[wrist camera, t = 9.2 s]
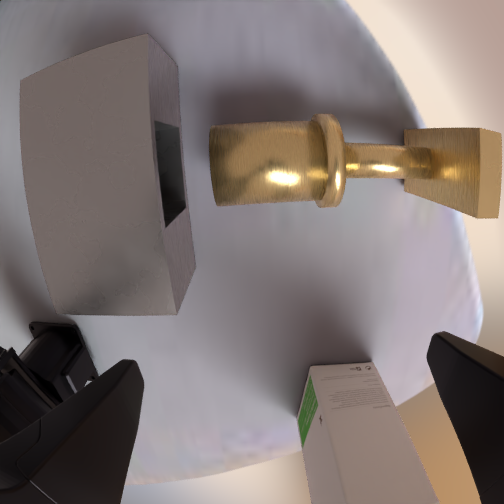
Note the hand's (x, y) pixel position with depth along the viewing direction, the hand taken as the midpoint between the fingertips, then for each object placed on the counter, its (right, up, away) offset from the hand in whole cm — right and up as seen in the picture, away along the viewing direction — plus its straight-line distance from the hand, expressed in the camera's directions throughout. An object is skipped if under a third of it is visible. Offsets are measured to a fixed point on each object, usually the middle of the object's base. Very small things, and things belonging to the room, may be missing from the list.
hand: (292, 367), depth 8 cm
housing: (-9, +8, +11) cm, 17 cm away
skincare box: (+7, -10, +18) cm, 22 cm away
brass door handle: (+4, +9, +10) cm, 14 cm away
